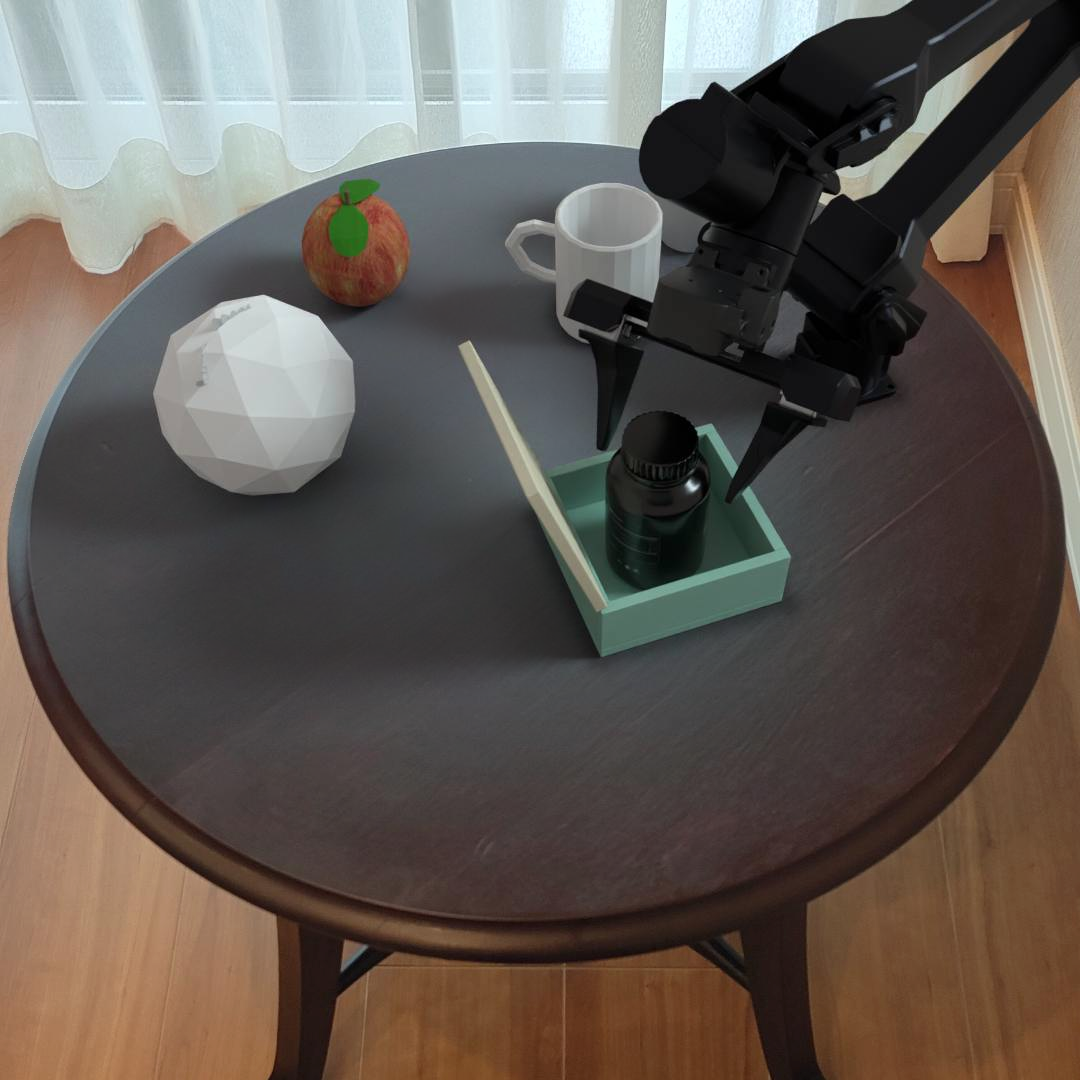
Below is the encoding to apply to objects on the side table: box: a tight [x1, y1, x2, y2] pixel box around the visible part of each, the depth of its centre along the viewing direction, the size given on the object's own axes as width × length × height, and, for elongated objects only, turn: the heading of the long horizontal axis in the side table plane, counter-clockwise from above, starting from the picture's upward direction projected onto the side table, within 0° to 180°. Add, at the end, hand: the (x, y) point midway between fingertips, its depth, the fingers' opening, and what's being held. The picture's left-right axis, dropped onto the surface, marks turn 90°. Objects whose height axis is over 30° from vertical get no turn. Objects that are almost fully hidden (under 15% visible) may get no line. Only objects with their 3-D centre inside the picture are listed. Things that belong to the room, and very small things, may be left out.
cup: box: [646, 109, 712, 254], centre depth 109 cm, size 8×8×10 cm
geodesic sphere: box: [152, 294, 356, 496], centre depth 92 cm, size 15×14×14 cm
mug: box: [504, 182, 663, 345], centre depth 103 cm, size 8×12×10 cm, turn 86°
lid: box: [458, 340, 607, 612], centre depth 80 cm, size 14×13×1 cm
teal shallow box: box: [537, 423, 792, 658], centre depth 89 cm, size 13×13×5 cm
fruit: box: [301, 178, 411, 307], centre depth 105 cm, size 9×10×10 cm
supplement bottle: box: [605, 409, 711, 590], centre depth 86 cm, size 7×7×12 cm
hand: (663, 476), depth 85 cm, fingers open, 9 cm apart
